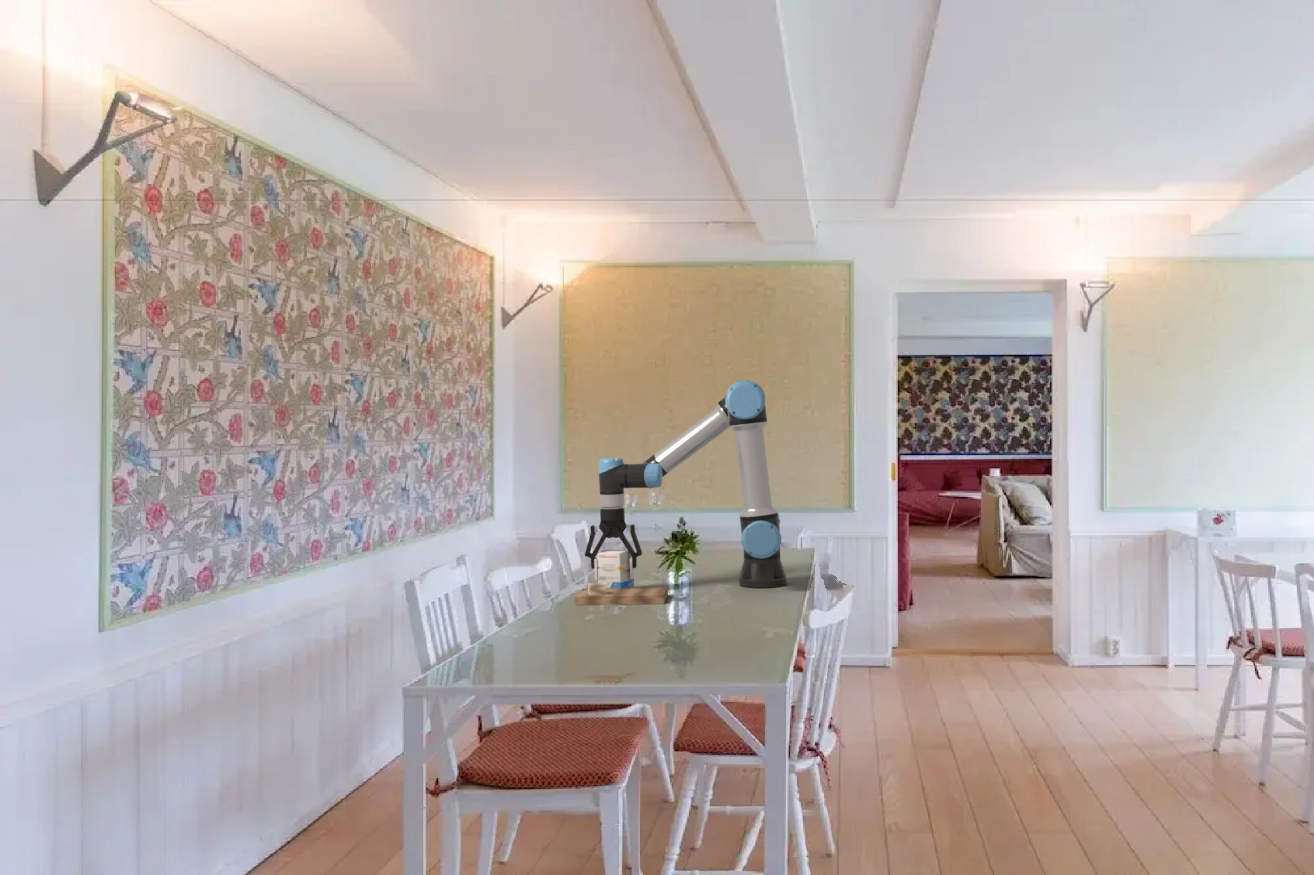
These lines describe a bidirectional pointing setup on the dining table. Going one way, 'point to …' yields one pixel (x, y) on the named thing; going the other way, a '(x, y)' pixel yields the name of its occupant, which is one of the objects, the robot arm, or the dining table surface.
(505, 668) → the dining table surface
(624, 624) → the dining table surface
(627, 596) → the board
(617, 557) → the ink box
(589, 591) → the beech offcut
